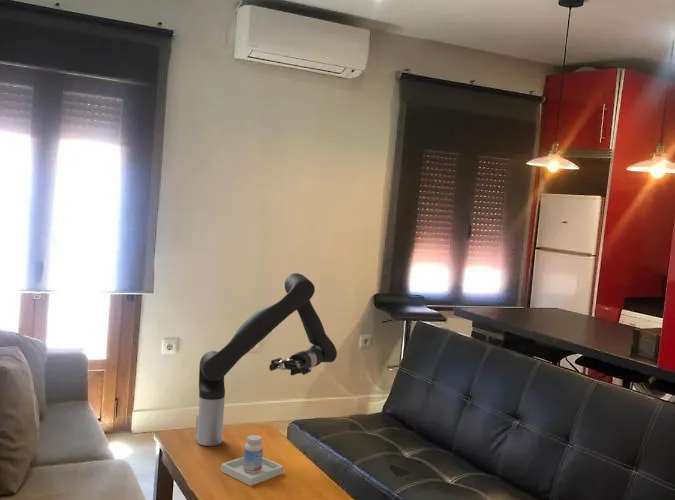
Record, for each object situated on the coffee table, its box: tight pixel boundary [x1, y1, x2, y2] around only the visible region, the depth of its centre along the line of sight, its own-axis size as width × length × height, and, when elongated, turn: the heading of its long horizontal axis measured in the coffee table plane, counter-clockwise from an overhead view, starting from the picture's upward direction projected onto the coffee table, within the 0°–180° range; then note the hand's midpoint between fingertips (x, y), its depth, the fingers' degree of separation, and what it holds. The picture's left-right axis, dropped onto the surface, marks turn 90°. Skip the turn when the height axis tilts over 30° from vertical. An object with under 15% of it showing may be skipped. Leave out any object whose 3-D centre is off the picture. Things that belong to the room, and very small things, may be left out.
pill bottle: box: [243, 434, 264, 473], centre depth 232 cm, size 6×6×11 cm
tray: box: [220, 456, 285, 487], centre depth 233 cm, size 15×15×2 cm
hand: (280, 370), depth 245 cm, fingers open, 8 cm apart
